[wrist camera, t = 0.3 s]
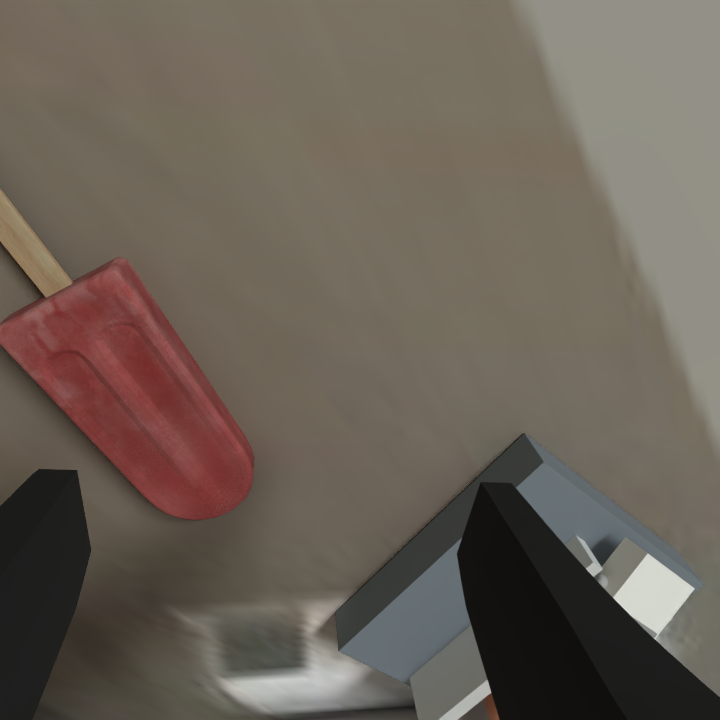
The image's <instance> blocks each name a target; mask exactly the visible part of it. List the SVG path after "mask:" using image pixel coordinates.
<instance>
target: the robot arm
mask: <svg viewBox="0 0 720 720" xmlns="http://www.w3.org/2000/svg"><path fill="white" fill-rule="evenodd" d="M90 553H91V546H90V541H89V535H88V530H87V524H86V518H85V513H84V507H83V501H82V496H81V490H80V485H79V479H78V473H77V470H52V469H39V470H37V471H36V472H35V473H33V474H32V475H31V476H30V477H29V478H28V479H27V480H26V481H25V482H24V483H23V484H22V485H21V486H20V487H19V488H18V489H17V490H16V491H15V492H14V493H13V494H12V495H11V496H10V497H9V498H8V499H7V500H6V501H5V502H4V503H3V504H2V505H1V506H0V720H32V718H33V716H34V713H35V711H36V708H37V706H38V703H39V701H40V698H41V696H42V693H43V691H44V688H45V686H46V683H47V681H48V678H49V676H50V673H51V671H52V668H53V665H54V663H55V660H56V658H57V655H58V653H59V650H60V648H61V645H62V643H63V640H64V637H65V635H66V632H67V630H68V627H69V625H70V622H71V619H72V617H73V614H74V612H75V609H76V606H77V602H78V598H79V595H80V591H81V587H82V584H83V580H84V576H85V572H86V568H87V564H88V560H89V557H90ZM457 558H458V565H459V571H460V577H461V583H462V589H463V594H464V599H465V605H466V609H467V612H468V616H469V619H470V623H471V626H472V630H473V633H474V637H475V640H476V643H477V647H478V650H479V653H480V657H481V660H482V663H483V667H484V670H485V673H486V677H487V680H488V683H489V687H490V690H491V693H492V697H493V700H494V703H495V707H496V710H497V713H498V717H499V720H720V697H719V696H718V695H716V694H715V693H714V692H713V691H712V690H711V689H709V688H708V687H707V686H706V685H705V684H703V683H702V682H701V681H700V680H699V679H698V678H697V677H696V676H695V675H693V674H692V673H691V672H690V671H689V670H688V669H687V668H686V667H684V666H683V665H682V664H681V663H680V662H679V661H678V660H677V659H676V658H674V657H673V656H672V655H671V654H670V653H669V652H668V651H667V650H666V649H664V648H663V647H662V646H661V645H660V644H659V643H658V642H657V641H656V640H655V639H654V638H653V637H652V636H651V635H650V634H649V633H648V632H647V631H646V630H644V629H643V627H642V626H641V625H640V624H639V623H638V622H637V621H636V620H635V619H634V618H633V617H632V616H631V615H630V614H629V613H628V612H627V611H626V610H625V609H624V608H623V607H622V606H621V605H620V604H619V603H618V602H617V601H616V600H615V599H614V598H613V597H612V596H611V595H610V594H609V593H608V592H607V591H606V590H605V589H604V588H603V587H602V586H601V585H600V584H599V582H598V581H597V580H596V579H595V578H594V577H593V576H592V575H591V574H590V573H589V572H588V571H587V569H586V568H585V567H584V566H583V565H582V564H581V563H580V562H579V561H578V559H577V558H576V557H575V556H574V555H573V554H572V553H571V552H570V550H569V549H568V548H567V547H566V546H565V545H564V544H563V542H562V541H561V540H560V539H559V538H558V537H557V536H556V534H555V533H554V532H553V531H552V530H551V529H550V527H549V526H548V525H547V524H546V523H545V522H544V520H543V519H542V518H541V517H540V516H539V515H538V513H537V512H536V511H535V510H534V509H533V508H532V506H531V505H530V504H529V503H528V502H527V500H526V499H525V498H524V497H523V496H522V495H521V493H520V492H519V491H518V490H517V489H516V488H515V487H514V485H513V484H512V483H498V482H480V485H479V488H478V491H477V494H476V497H475V500H474V503H473V506H472V509H471V512H470V515H469V518H468V521H467V524H466V527H465V530H464V533H463V536H462V539H461V542H460V545H459V548H458V551H457Z"/></svg>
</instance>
